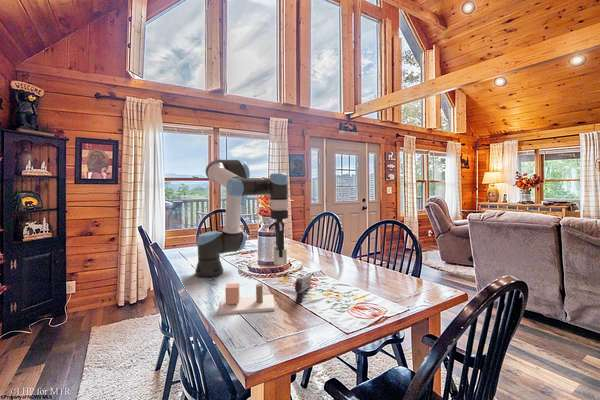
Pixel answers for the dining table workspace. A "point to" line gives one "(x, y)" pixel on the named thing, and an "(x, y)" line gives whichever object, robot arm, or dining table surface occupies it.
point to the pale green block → (276, 256)
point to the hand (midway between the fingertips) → (280, 262)
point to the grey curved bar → (302, 286)
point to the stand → (245, 301)
